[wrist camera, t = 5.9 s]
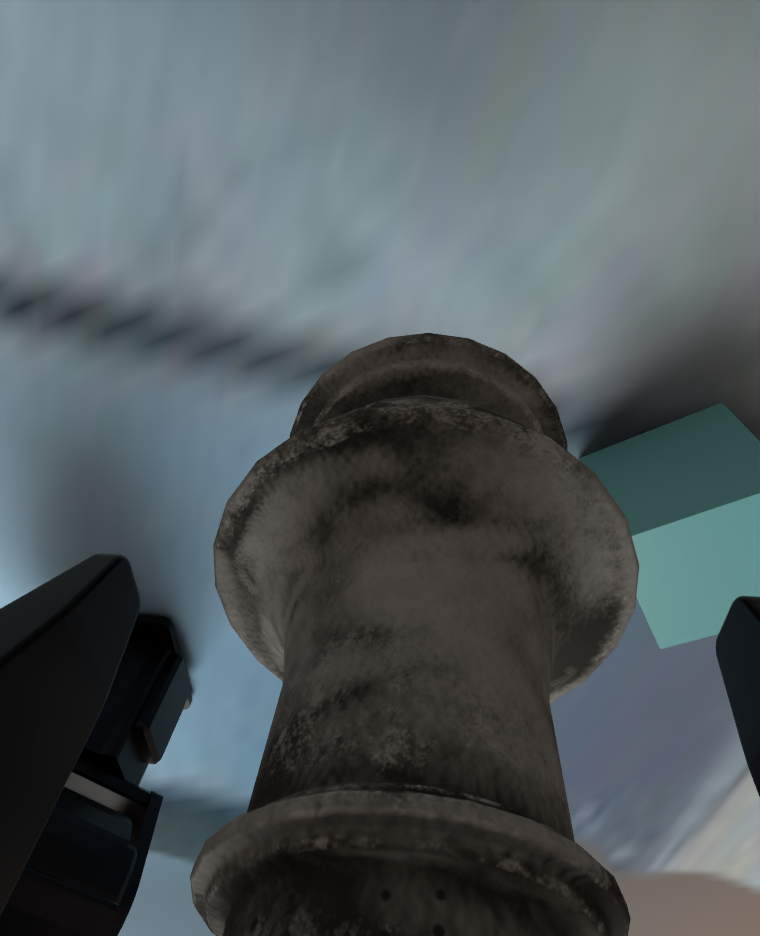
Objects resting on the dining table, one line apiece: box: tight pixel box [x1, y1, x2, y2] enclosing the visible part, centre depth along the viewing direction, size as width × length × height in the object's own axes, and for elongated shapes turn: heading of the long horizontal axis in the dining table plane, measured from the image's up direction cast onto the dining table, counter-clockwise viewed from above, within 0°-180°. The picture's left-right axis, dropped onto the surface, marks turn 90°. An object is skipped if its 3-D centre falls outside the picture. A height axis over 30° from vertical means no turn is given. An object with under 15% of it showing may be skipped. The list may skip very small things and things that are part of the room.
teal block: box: [579, 403, 760, 649], centre depth 19 cm, size 5×5×5 cm
